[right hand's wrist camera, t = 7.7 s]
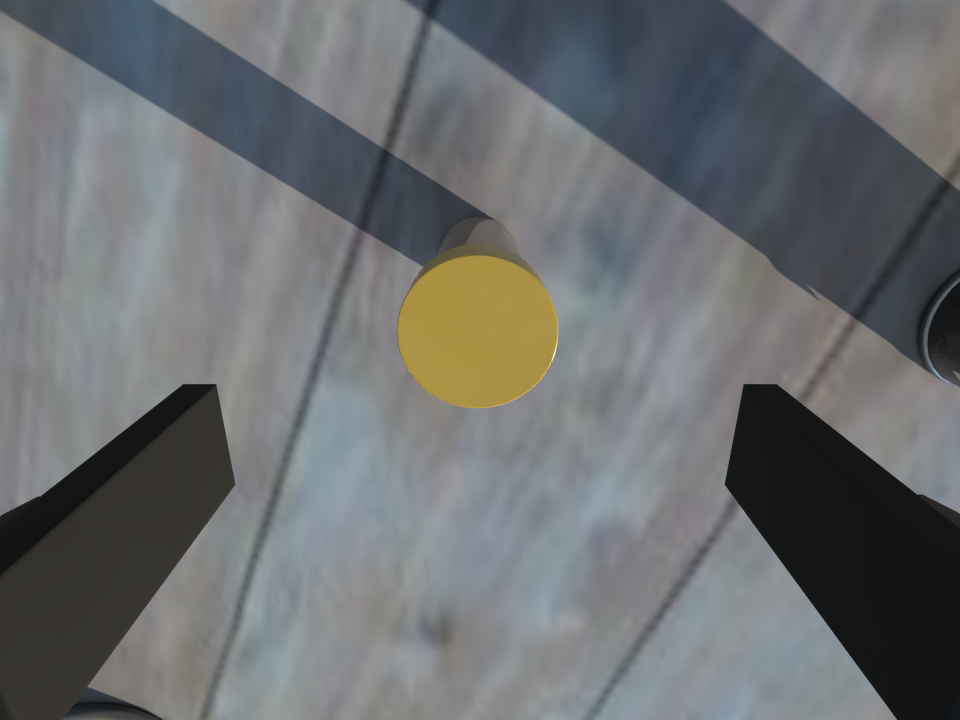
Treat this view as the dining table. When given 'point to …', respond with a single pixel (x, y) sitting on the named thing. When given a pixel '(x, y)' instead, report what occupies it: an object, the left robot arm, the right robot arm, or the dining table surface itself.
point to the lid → (477, 327)
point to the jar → (478, 235)
